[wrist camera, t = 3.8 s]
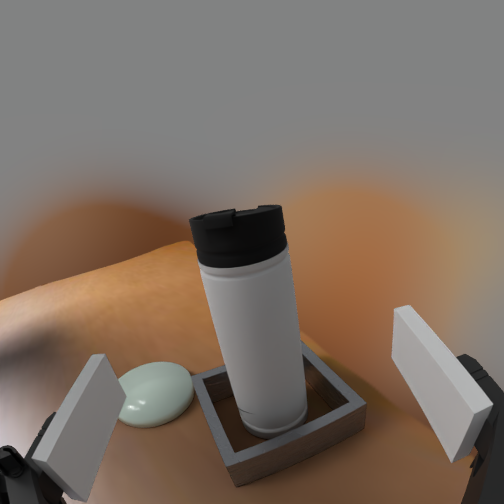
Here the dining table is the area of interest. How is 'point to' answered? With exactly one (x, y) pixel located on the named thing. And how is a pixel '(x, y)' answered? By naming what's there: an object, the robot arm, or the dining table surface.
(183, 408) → the disc
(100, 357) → the robot arm
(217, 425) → the square frame
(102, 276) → the dining table surface
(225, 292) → the travel mug
